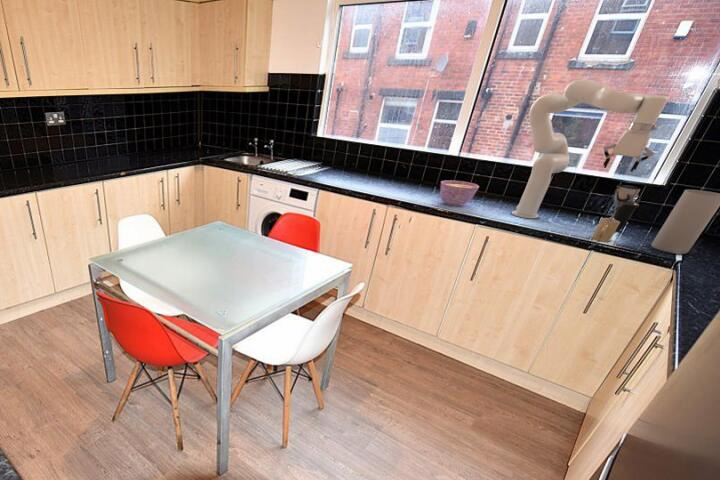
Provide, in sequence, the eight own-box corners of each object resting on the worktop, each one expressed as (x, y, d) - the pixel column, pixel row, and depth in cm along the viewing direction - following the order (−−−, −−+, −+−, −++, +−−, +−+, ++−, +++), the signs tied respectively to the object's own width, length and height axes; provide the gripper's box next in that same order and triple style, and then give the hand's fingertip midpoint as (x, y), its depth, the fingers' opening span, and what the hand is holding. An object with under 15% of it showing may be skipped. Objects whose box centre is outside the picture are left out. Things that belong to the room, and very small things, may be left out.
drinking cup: (619, 229, 216) (641, 189, 206) (626, 233, 210) (650, 192, 199) (601, 227, 218) (623, 187, 208) (607, 231, 212) (630, 190, 201)
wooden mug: (593, 235, 206) (603, 217, 201) (611, 239, 201) (621, 221, 196) (587, 239, 200) (598, 221, 195) (606, 243, 195) (617, 224, 190)
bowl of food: (473, 203, 252) (480, 183, 246) (470, 210, 238) (478, 189, 232) (437, 198, 261) (443, 178, 255) (432, 204, 247) (438, 184, 240)
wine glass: (625, 223, 193) (644, 189, 185) (606, 222, 194) (624, 188, 186) (615, 218, 199) (633, 185, 191) (596, 217, 200) (613, 184, 192)
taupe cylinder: (694, 254, 187) (734, 196, 174) (673, 255, 185) (711, 197, 171) (663, 244, 197) (699, 189, 184) (643, 245, 195) (677, 189, 181)
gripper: (666, 129, 181) (642, 171, 191) (615, 125, 190) (594, 165, 200) (667, 131, 176) (642, 173, 186) (615, 126, 185) (594, 167, 195)
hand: (617, 169), depth 193 cm, fingers open, 9 cm apart
